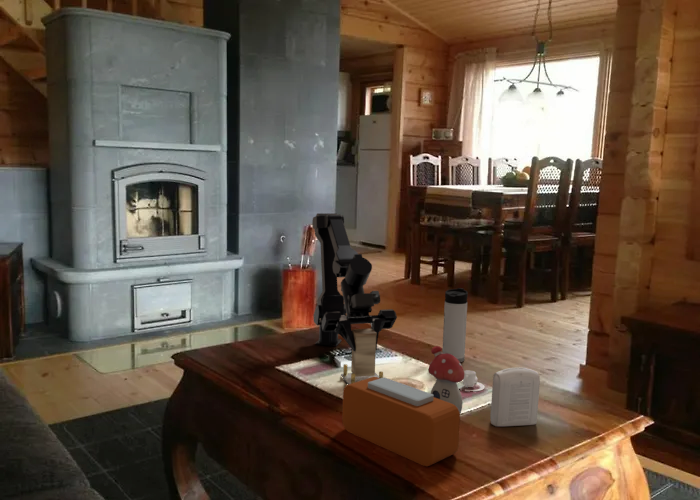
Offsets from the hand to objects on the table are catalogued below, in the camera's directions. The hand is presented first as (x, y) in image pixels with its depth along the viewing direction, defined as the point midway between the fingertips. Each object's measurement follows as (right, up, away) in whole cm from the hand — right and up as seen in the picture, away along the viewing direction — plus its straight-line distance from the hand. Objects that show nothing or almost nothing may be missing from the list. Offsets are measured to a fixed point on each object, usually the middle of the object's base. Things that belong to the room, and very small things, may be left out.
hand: (365, 349), depth 165 cm
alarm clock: (+6, -14, -32) cm, 36 cm away
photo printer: (+32, -13, -22) cm, 40 cm away
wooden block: (-1, -6, +2) cm, 7 cm away
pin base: (-1, -8, +2) cm, 9 cm away
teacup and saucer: (+29, -10, +2) cm, 31 cm away
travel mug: (+26, -6, +23) cm, 35 cm away
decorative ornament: (+17, -12, -18) cm, 27 cm away
